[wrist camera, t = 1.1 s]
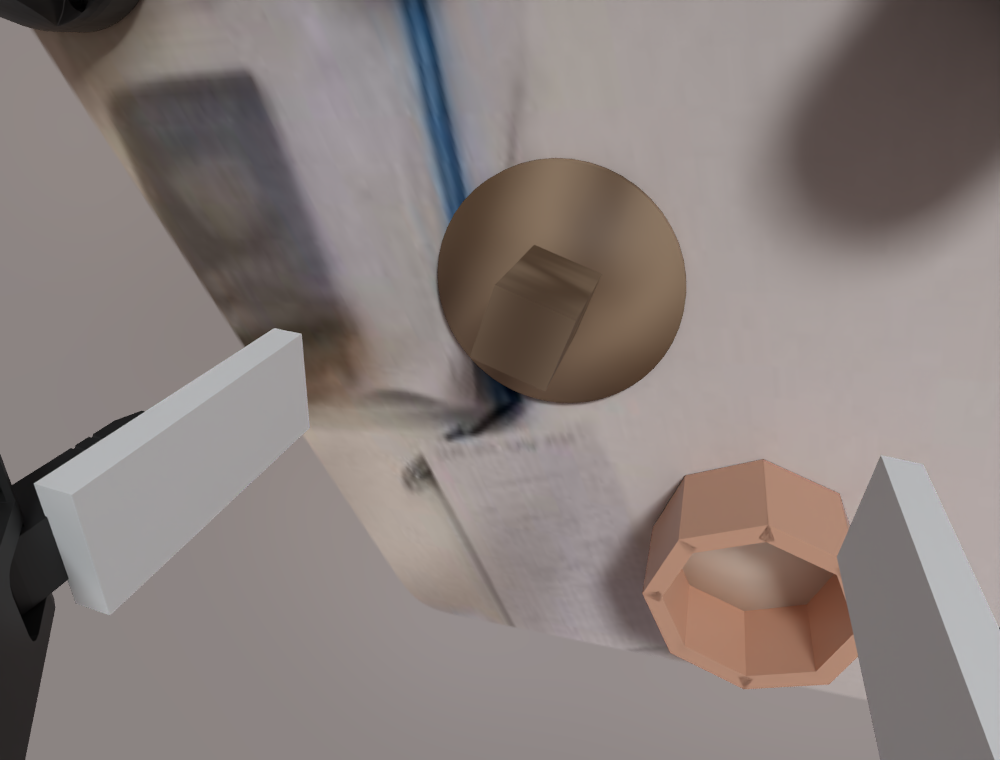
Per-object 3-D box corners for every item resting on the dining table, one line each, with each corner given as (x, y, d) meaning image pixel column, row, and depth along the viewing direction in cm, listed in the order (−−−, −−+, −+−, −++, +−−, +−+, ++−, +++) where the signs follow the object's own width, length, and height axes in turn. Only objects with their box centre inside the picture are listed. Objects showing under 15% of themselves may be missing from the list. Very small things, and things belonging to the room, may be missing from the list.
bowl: (632, 559, 43) (619, 627, 38) (710, 435, 38) (707, 496, 33) (789, 634, 42) (797, 715, 37) (894, 518, 36) (921, 595, 31)
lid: (417, 339, 41) (358, 395, 34) (483, 115, 34) (423, 132, 27) (622, 433, 40) (600, 510, 33) (735, 220, 32) (738, 265, 26)
